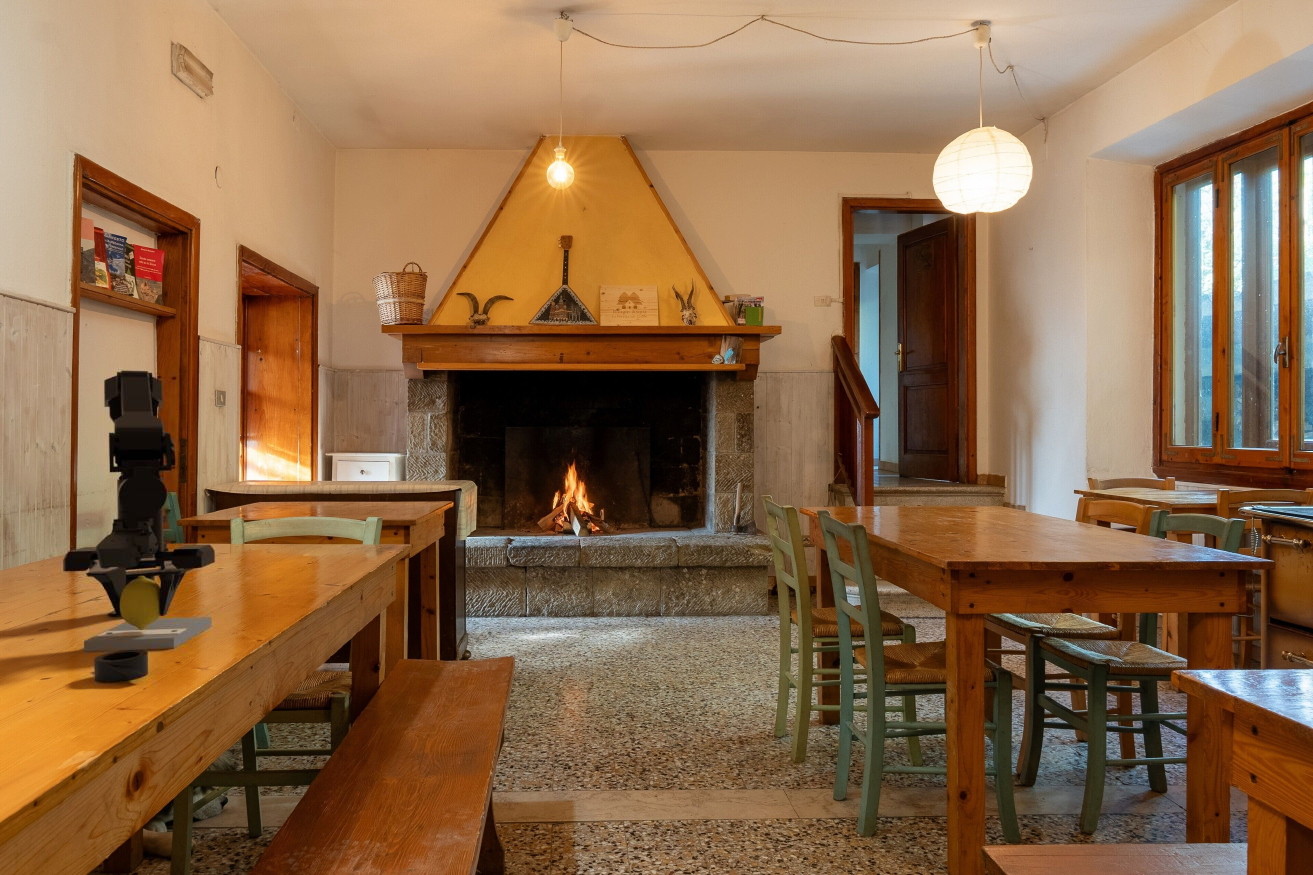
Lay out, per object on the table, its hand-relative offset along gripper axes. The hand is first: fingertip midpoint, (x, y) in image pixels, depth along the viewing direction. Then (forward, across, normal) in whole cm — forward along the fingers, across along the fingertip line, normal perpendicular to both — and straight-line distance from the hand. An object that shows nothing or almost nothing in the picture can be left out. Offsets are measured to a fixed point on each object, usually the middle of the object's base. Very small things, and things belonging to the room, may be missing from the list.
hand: (141, 616), depth 128 cm
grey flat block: (+4, 0, +3) cm, 5 cm away
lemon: (+2, 0, 0) cm, 2 cm away
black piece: (+4, +5, -18) cm, 19 cm away
